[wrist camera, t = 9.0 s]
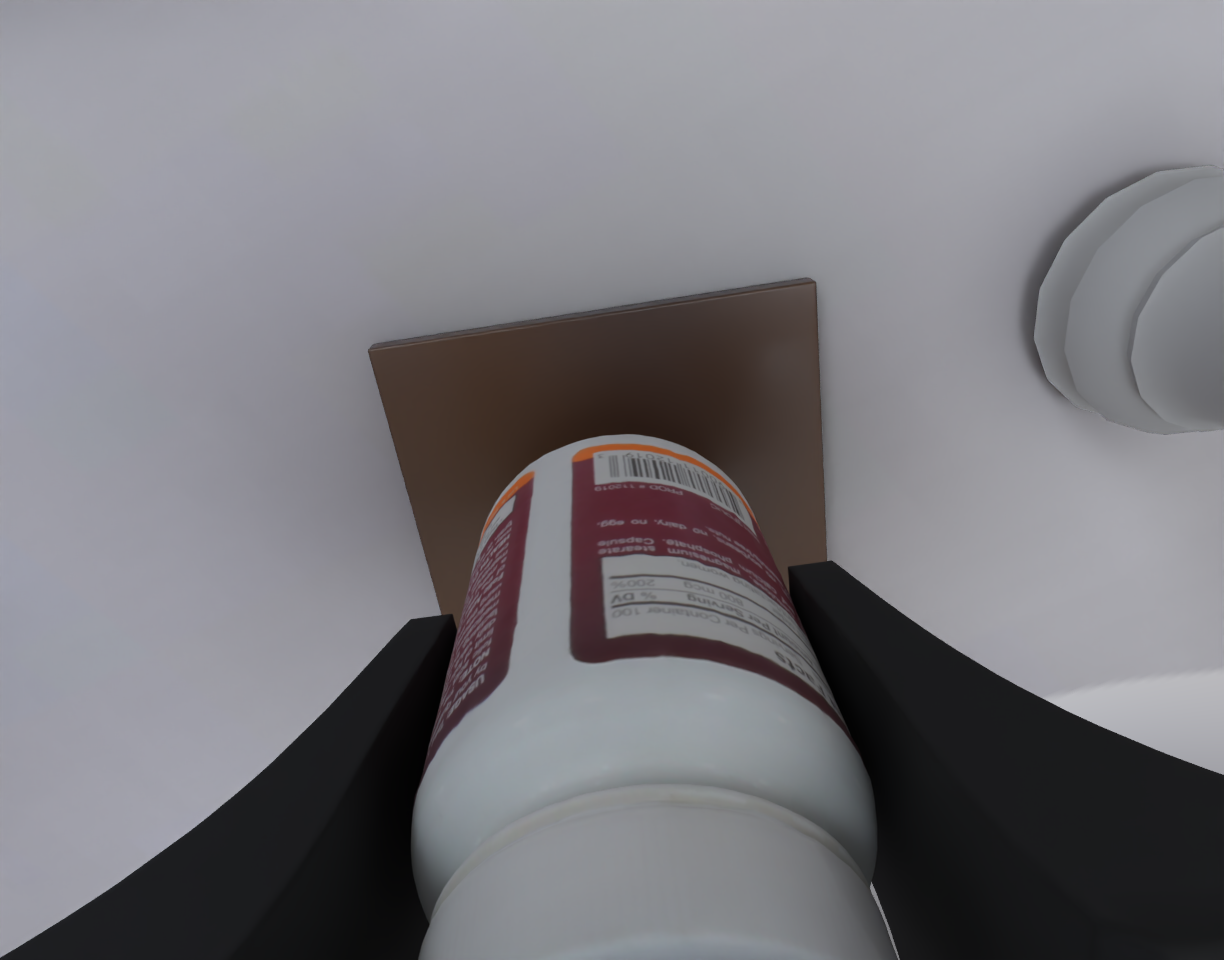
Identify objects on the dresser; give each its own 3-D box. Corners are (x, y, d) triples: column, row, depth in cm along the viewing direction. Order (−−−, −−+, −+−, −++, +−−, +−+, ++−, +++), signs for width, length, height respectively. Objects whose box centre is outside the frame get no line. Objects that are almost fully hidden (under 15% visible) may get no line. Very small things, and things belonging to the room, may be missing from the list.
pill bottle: (569, 710, 15) (551, 1341, 7) (424, 510, 13) (196, 1063, 5) (806, 604, 14) (1068, 1186, 6) (685, 373, 12) (851, 799, 5)
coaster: (463, 673, 18) (460, 685, 17) (372, 343, 15) (366, 349, 14) (825, 623, 17) (830, 634, 17) (810, 277, 14) (816, 281, 14)
